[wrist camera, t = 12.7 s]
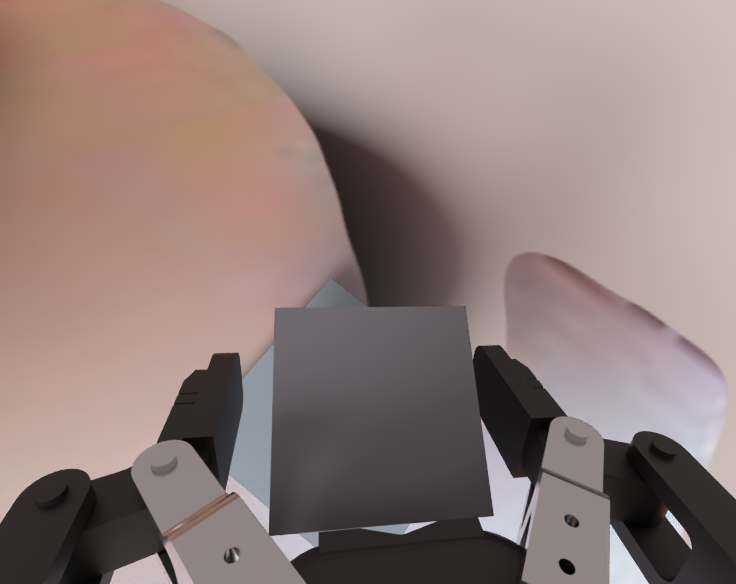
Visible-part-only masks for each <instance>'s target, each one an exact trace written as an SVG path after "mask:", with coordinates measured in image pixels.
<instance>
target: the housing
mask: <svg viewBox="0 0 736 584" xmlns="http://www.w3.org/2000/svg"><path fill="white" fill-rule="evenodd" d="M488 516H494V514H493V507H492V499H491V492H490V485H489V477H488V470H487V462H486V455H485V448H484V440H483V433H482V425H481V418H480V411H479V403H478V396H477V389H476V381H475V374H474V366H473V359H472V352H471V344H470V337H469V330H468V322H467V315H466V307H465V306H430V307H330V308H275V324H274V362H273V400H272V438H271V475H270V513H269V535H270V536H275V535H286V534H297V533H308V532H319V531H331V530H342V529H353V528H364V527H375V526H387V525H398V524H409V523H420V522H431V521H440V520H449V519H459V518H470V517H488Z"/></svg>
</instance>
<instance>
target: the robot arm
mask: <svg viewBox="0 0 736 584" xmlns="http://www.w3.org/2000/svg"><path fill="white" fill-rule="evenodd" d="M473 366H474V374H475V381H476V389H477V396H478V403H479V411H480V417H481V419H482V421H483V422H484V424H485V426H486V428H487V430H488V432H489V434H490V435H491V437H492V439H493V441H494V443H495V445H496V447H497V448H498V450H499V452H500V454H501V456H502V458H503V460H504V461H505V463H506V465H507V467H508V469H509V471H510V473H511V475H512V476H513V478H517V477H528V478H529V480H530V481H531V484H530V486H529V489H528V494H527V498H526V502H525V507H524V511H523V516H522V520H521V524H520V529H519V533H518V537H517V541H516V543H515V542H513V541H511V540H509V539H507V538H505V537H503V536H500V535H498V534H495V533H491V532H488V531H483V529H482V527H481V524H480V522H479V519H478V517H470V518H459V519H449V520H440V521H437V522H435V523H432V524H429V525H427V526H424V527H422V528H419V529H417V530H414V531H412V532H409V533H406V534H393V533H387V532H380V531H374V530H368V529H362V528H355V529H345V530H334V531H324V532H318V546H317V547H315V548H312V549H310V550H308V551H306V552H304V553H302V554H300V555H299V556H297V557H296V558H295V559H293V560H292V561H289V560H288V559H287V558H286V556H285V555H284V554H283V552H282V551H281V550H280V548H279V547H278V546H277V544H276V543H275V542H274V540H273V539H272V538H271V537H270V535H269V534H268V533H267V531H266V530H265V529H264V527H263V526H262V525H261V523H260V522H259V521H258V519H257V518H256V517H255V516H254V514H253V513H252V512H251V510H250V509H249V508H248V506H247V505H246V504H245V502H244V501H243V500H242V499H241V497H240V496H239V495H238V494H237V493H235V492H232V493H231V494H229V495H228V494H227V493H226V492H225V490H226V485H227V480H228V476H229V471H230V466H231V461H232V457H233V452H234V447H235V442H236V438H237V433H238V428H239V424H240V419H241V414H242V409H243V385H242V375H241V366H240V357H239V354H238V353H214V354H213V356H212V359H211V361H210V364H209V367H208V369H207V370H195V371H194V372H193V373H192V374H191V375H190V376H189V377H188V378H187V379H185V380H184V382H183V384H182V387H181V389H180V391H179V395H178V396H177V398H176V400H175V403H174V406H173V407H172V409H171V412H170V414H169V416H168V418H167V421H166V423H165V425H164V428H163V430H162V432H161V434H160V437H159V439H158V441H157V444H155V445H153V446H151V447H149V448H148V449H146V450H145V451H143V452H142V453H141V454H140V455H139V456H138V457H137V459H136V460H135V462H134V463H133V466H132V467H130V468H128V469H126V470H123V471H120V472H117V473H114V474H111V475H107V476H104V477H101V478H98V479H94V480H90V477H89V475H88V474H87V473H86V472H84V471H82V470H79V469H65V470H60V471H57V472H54V473H51V474H48V475H46V476H44V477H42V478H40V479H39V480H37V481H35V482H34V483H32V484H31V485H30V486H29V487H27V488H26V489H25V490H24V491H23V492H22V493H21V494H20V495H19V496H18V498H17V499H16V501H15V502H14V504H13V505H12V507H11V508H10V510H9V511H8V513H7V514H6V516H5V517H4V519H3V520H2V522H1V523H0V584H110V581H111V578H112V575H113V572H114V570H116V569H118V568H121V567H123V566H126V565H128V564H131V563H133V562H136V561H138V560H141V559H143V558H146V557H148V556H151V555H153V554H155V555H156V557H157V559H158V561H159V563H160V565H161V567H162V569H163V571H164V573H165V575H166V577H167V579H168V581H169V583H170V584H609V558H610V524H611V525H612V527H613V528H614V530H615V532H616V533H617V535H618V536H619V538H620V539H621V541H622V542H623V544H624V546H625V547H626V549H627V550H628V552H629V553H630V555H631V556H632V558H633V559H634V561H635V563H636V564H637V566H638V567H639V569H640V570H641V572H642V573H643V575H644V576H645V578H646V580H647V581H648V583H649V584H736V499H735V498H734V497H733V496H732V495H730V493H728V491H727V490H726V489H725V488H724V487H722V485H721V484H720V483H718V481H717V480H716V479H714V477H713V476H712V475H711V474H710V473H709V472H708V471H707V470H706V469H705V468H704V467H703V466H702V465H701V464H700V463H699V462H698V461H697V460H696V459H695V458H694V457H693V456H692V455H691V454H690V453H689V452H688V451H687V450H686V449H685V448H683V447H682V446H681V445H680V444H678V443H677V442H675V441H674V440H672V439H670V438H668V437H666V436H664V435H661V434H658V433H655V432H649V431H642V432H638V433H636V434H635V435H634V437H633V439H632V441H631V444H628V443H623V442H618V441H613V440H607V439H603V438H602V436H601V435H600V434H599V432H598V431H597V430H596V429H595V428H593V427H592V426H591V425H589V424H587V423H586V422H584V421H581V420H579V419H576V418H572V417H568V416H567V415H566V414H565V413H564V411H563V410H562V409H561V408H560V407H559V405H558V404H557V403H556V402H555V400H554V399H553V398H552V397H551V395H550V394H549V393H548V392H547V390H546V389H544V388H543V386H542V384H541V383H540V382H539V381H538V380H536V377H535V376H534V374H533V373H532V372H531V371H530V370H529V368H528V367H526V366H525V365H523V364H522V363H520V362H519V361H517V360H516V359H511V358H510V357H509V356H508V354H507V353H506V352H505V351H504V349H503V348H502V347H501V346H499V345H493V346H478V347H477V348H476V350H475V354H474V359H473ZM668 510H669V511H670V512H671V513H672V514H673V516H674V517H675V518H676V519H677V520H678V522H679V523H680V524H681V525H682V527H683V528H684V529H685V531H686V532H687V534H688V535H689V537H690V540H691V544H692V550H691V549H690V548H689V546H688V545H687V544H686V543H685V541H684V540H683V539H682V537H681V536H680V535H679V534H678V532H677V531H676V530H675V528H674V527H673V526H672V525H671V523H670V522H669V521H668V520H667V518H666V517H665V515H666V513H667V511H668Z"/></svg>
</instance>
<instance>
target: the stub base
mask: <svg viewBox="0 0 736 584" xmlns="http://www.w3.org/2000/svg"><path fill="white" fill-rule="evenodd" d="M330 307H367V306H366V305H365V304H363V303H362V302H361V301H359V300H358V299H357V298H356V297H354V296H353V295H352V294H350V293H349V292H348V291H346V290H345V289H344V288H342V287H341V286H340V285H338V284H337V283H336V282H334V281H333V280H332V279H331V278H330V279H329V280H328V281H327V283H326V284H325V285H324V286H323V287H322V288H321V289H320V291H319V292H318V293H317V294H316V295H315V296H314V297H313V299H312V300H311V301H310V302H309V303H308V304H307V306H306V307H305V308H330ZM273 362H274V343H273V345H272V346H271V347H270V348H269V349H268V350H267V351H266V353H265V354H264V355H263V356H262V357H261V358H260V360H259V361H258V362H257V363H256V364H255V365H254V366H253V368H252V369H251V370H250V371H249V372H248V373H247V374H246V376H245V377H244V378H243V379H242V385H243V409H242V414H241V419H240V424H239V428H238V433H237V438H236V442H235V447H234V452H233V457H232V461H231V466H230V471H229V475H230V476H231V477H233V478H234V479H235V480H236V481H237V482H239V483H240V484H241V485H242V486H243V487H244V488H246V489H247V490H248V491H249V492H250V493H251V494H253V495H254V496H255V497H256V498H257V499H259V500H260V501H261V502H262V503H263V504H264V505H266V506H267V507H268V508H269V509H270V475H271V438H272V400H273ZM409 524H410V523H409ZM409 524H398V525H387V526H375V527H364V528H362V529H368V530H374V531H380V532H387V533H393V534H404V532H405V531H406V529H407V527H408V526H409ZM353 529H355V528H353ZM342 530H345V529H342ZM331 531H334V530H331ZM319 532H324V531H319ZM299 534H300V535H301V536H302V537H303V538H305V539H306V540H307V541H308V542H309V543H310V544H312V545H313V546H314V547H317V546H318V532H308V533H299Z"/></svg>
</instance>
